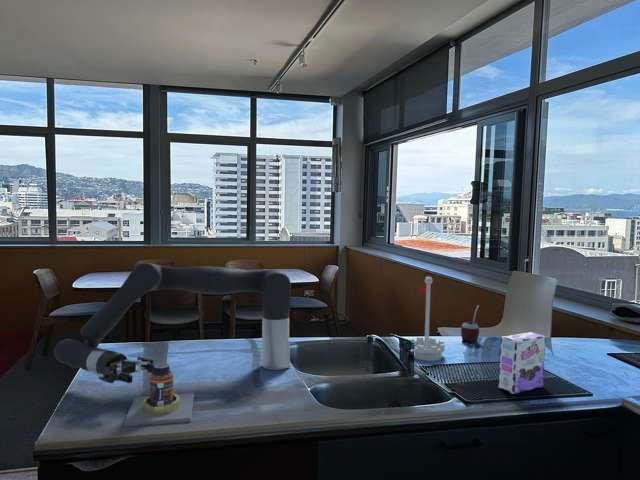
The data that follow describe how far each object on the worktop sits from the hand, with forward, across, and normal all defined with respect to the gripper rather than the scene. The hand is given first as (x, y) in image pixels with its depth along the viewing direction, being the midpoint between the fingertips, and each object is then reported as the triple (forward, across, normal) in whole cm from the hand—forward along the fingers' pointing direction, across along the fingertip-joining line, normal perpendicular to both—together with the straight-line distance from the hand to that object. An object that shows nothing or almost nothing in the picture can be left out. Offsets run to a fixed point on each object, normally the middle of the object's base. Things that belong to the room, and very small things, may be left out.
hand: (144, 374), depth 127 cm
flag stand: (+53, +85, +8) cm, 100 cm away
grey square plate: (+6, 0, +9) cm, 11 cm away
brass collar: (+6, 0, +9) cm, 11 cm away
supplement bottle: (+6, 0, +8) cm, 10 cm away
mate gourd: (+63, +112, +8) cm, 129 cm away
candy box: (+88, +70, +8) cm, 112 cm away
